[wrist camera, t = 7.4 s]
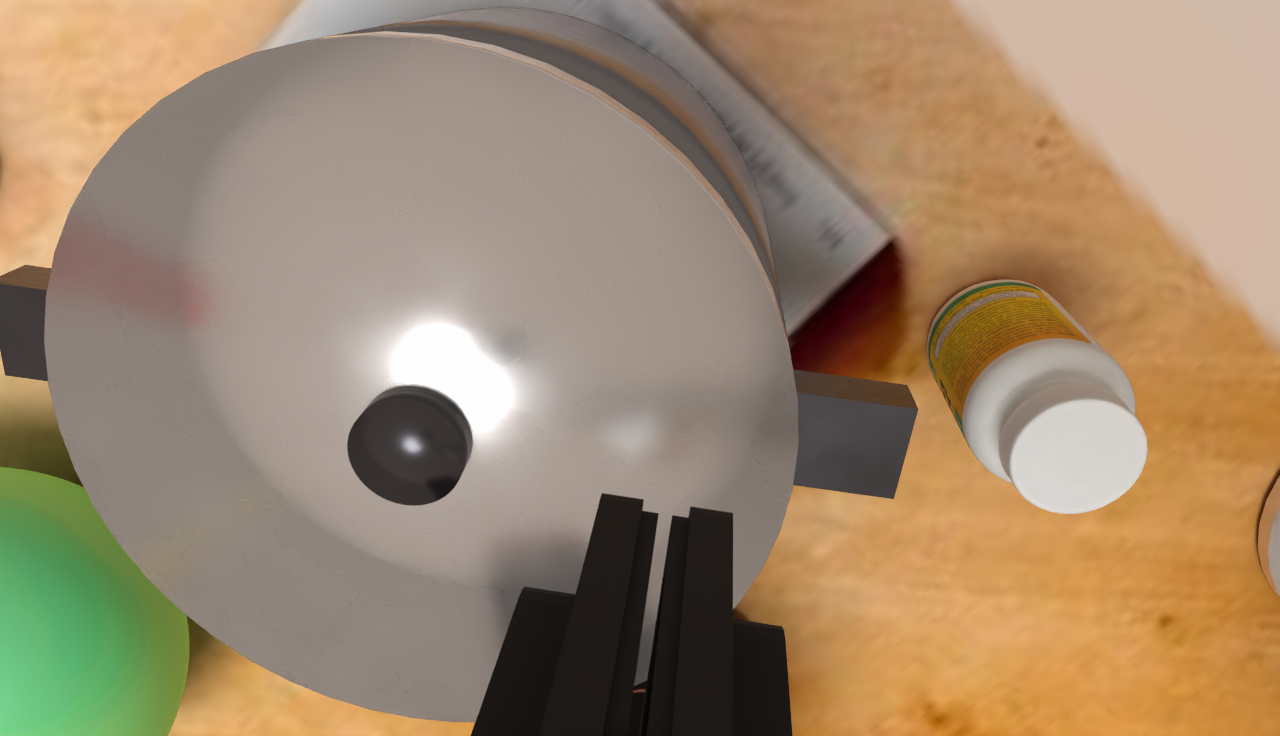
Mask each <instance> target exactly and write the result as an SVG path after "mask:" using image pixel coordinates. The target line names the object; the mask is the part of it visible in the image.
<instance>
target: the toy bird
mask: <svg viewBox="0 0 1280 736" xmlns="http://www.w3.org/2000/svg"><path fill="white" fill-rule="evenodd" d="M189 651H190V641H189V627H188V619H187V615H186V614H184V613H183V612H182V611H181V610H180V609H179V608H178V607H177V606H176V605H174V604H173V603H172V602H171V601H170V600H169V599H168V598H167V597H166V596H165V595H164V594H163V593H162V592H161V591H160V590H159V589H158V588H157V587H156V586H155V585H154V584H153V583H152V582H151V581H150V580H149V579H148V578H147V577H146V576H145V575H144V573H143V572H142V571H141V570H140V569H139V568H138V566H137V565H136V564H135V563H134V562H133V560H132V559H131V558H130V557H129V556H128V555H127V553H126V552H125V551H124V550H123V549H122V547H121V546H120V545H119V543H118V542H117V540H116V539H115V537H114V536H113V534H112V533H111V532H110V530H109V529H108V527H107V526H106V524H105V523H104V521H103V520H102V518H101V517H100V515H99V514H98V512H97V511H96V509H95V507H94V506H93V504H92V502H91V500H90V498H89V496H88V494H87V492H86V490H85V488H84V487H82V486H80V485H77V484H75V483H72V482H70V481H67V480H64V479H61V478H58V477H55V476H51V475H48V474H44V473H39V472H35V471H29V470H24V469H17V468H8V467H0V736H168V734H169V732H170V729H171V727H172V725H173V723H174V720H175V718H176V715H177V712H178V709H179V706H180V703H181V700H182V697H183V693H184V689H185V684H186V679H187V674H188V666H189Z"/></svg>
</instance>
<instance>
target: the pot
mask: <svg viewBox="0 0 1280 736" xmlns="http://www.w3.org/2000/svg"><path fill="white" fill-rule="evenodd" d="M382 31H390V32H408V33H425V34H441V35H446V36H451V37H456V38H461V39H466V40H471V41H476V42H481V43H486V44H491V45H496V46H499V47H501V48H504V49H507V50H510V51H513V52H516V53H519V54H522V55H525V56H528V57H531V58H533V59H536V60H539V61H542V62H545V63H548V64H550V65H552V66H554V67H556V68H558V69H560V70H562V71H564V72H566V73H568V74H570V75H572V76H574V77H576V78H578V79H580V80H582V81H584V82H586V83H588V84H590V85H592V86H594V87H596V88H598V89H600V90H602V91H603V92H604V93H606V94H607V95H609V96H610V97H612V98H613V99H615V100H616V101H618V102H619V103H621V104H622V105H624V106H625V107H627V108H628V109H630V110H631V111H633V112H634V113H636V114H637V115H639V116H640V117H642V118H643V119H644V120H646V121H647V122H648V123H649V124H650V125H652V126H653V127H654V128H655V129H656V130H657V131H658V132H659V133H661V134H662V135H663V136H664V137H665V138H666V139H667V140H668V141H670V142H671V143H672V144H673V145H674V146H675V147H676V148H678V149H679V150H680V151H681V152H682V153H683V154H684V155H685V156H687V157H688V159H689V160H690V161H691V162H692V163H693V164H694V166H695V167H696V168H697V169H698V170H699V171H700V172H701V174H702V175H703V176H704V177H705V178H706V179H707V181H708V182H709V183H710V184H711V185H712V186H713V187H714V189H715V190H716V191H717V192H718V193H719V194H720V196H721V197H722V198H723V200H724V201H725V203H726V204H727V206H728V207H729V209H730V210H731V212H732V213H733V215H734V216H735V218H736V219H737V221H738V222H739V224H740V225H741V227H742V228H743V230H744V232H745V233H746V235H747V236H748V238H749V239H750V241H751V243H752V245H753V247H754V249H755V251H756V253H757V255H758V257H759V260H760V262H761V264H762V266H763V268H764V270H765V272H766V274H767V276H768V278H769V281H770V283H771V285H772V288H773V291H774V294H775V297H776V300H777V304H778V307H779V310H780V313H781V316H782V319H783V323H784V326H785V322H784V317H783V311H782V306H781V301H780V295H779V290H778V285H777V279H776V274H775V268H774V263H773V258H772V252H771V247H770V242H769V236H768V231H767V226H766V220H765V215H764V211H763V207H762V204H761V201H760V198H759V194H758V191H757V188H756V185H755V181H754V179H753V177H752V175H751V172H750V170H749V168H748V166H747V164H746V162H745V159H744V157H743V155H742V153H741V151H740V149H739V147H738V146H737V144H736V142H735V141H734V139H733V138H732V136H731V135H730V133H729V131H728V130H727V128H726V127H725V125H724V124H723V122H722V120H721V119H720V118H719V116H718V115H717V114H716V113H715V112H714V111H713V109H712V108H711V107H710V106H709V105H708V103H707V102H706V101H705V100H704V99H703V98H702V96H701V95H700V94H699V93H698V92H697V91H696V90H695V89H694V88H693V87H692V86H691V85H690V84H689V83H688V82H687V81H685V80H684V79H683V78H682V77H681V76H680V75H679V74H678V73H677V72H675V71H674V70H673V69H672V68H671V67H670V66H669V65H667V64H666V63H664V62H663V61H661V60H660V59H658V58H657V57H656V56H654V55H653V54H651V53H650V52H648V51H647V50H645V49H644V48H642V47H641V46H640V45H638V44H636V43H634V42H632V41H630V40H628V39H626V38H624V37H622V36H620V35H618V34H616V33H614V32H612V31H610V30H608V29H606V28H603V27H600V26H597V25H594V24H592V23H589V22H586V21H583V20H580V19H577V18H574V17H571V16H566V15H561V14H556V13H551V12H546V11H541V10H536V9H521V8H503V7H496V8H484V9H473V10H462V11H457V12H452V13H447V14H442V15H436V16H431V17H426V18H421V19H416V20H411V21H405V22H400V23H395V24H390V25H385V26H379V27H374V28H369V29H364V30H359V31H354V32H348V33H343V34H338V35H346V34H358V33H370V32H382ZM333 36H335V35H333ZM50 273H51V268H43V267H36V266H29V265H24V266H22V267H20V268H18V269H15V270H13V271H11V272H8V273H6V274H4V275H2V276H0V351H1V356H2V361H3V366H4V371H5V375H8V376H15V377H22V378H29V379H36V380H43V381H48V374H47V365H46V355H45V345H44V331H45V307H46V294H47V288H48V283H49V278H50ZM785 329H786V327H785ZM793 373H794V379H795V385H796V391H797V397H798V453H797V460H796V467H795V474H794V482H793V485H798V486H805V487H812V488H819V489H826V490H834V491H841V492H848V493H855V494H862V495H869V496H877V497H884V498H891V499H894V496H895V492H896V488H897V485H898V481H899V477H900V474H901V470H902V466H903V463H904V459H905V455H906V452H907V448H908V444H909V441H910V437H911V433H912V430H913V426H914V422H915V419H916V415H917V411H918V408H917V406H916V404H915V401H914V399H913V397H912V395H911V392H910V390H909V388H908V386H907V385H902V384H895V383H888V382H880V381H873V380H866V379H858V378H851V377H844V376H836V375H829V374H822V373H814V372H807V371H800V370H793Z"/></svg>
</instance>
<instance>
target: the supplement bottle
mask: <svg viewBox="0 0 1280 736" xmlns="http://www.w3.org/2000/svg"><path fill="white" fill-rule="evenodd" d="M927 357H928V363H929V366H930V369H931V372H932V374H933V376H934V378H935V380H936V383H937V384H938V386H939V388H940V390H941V392H942V394H943V396H944V398H945V400H946V402H947V403H948V406H949V408H950V410H951V411H952V413H953V416H954V418H955V420H956V422H957V424H958V426H959V427H960V430H961V432H962V434H963V436H964V438H965V440H966V442H967V444H968V446H969V447H970V449H971V451H972V452H973V454H974V455H975V457H976V458H977V459H978V460H979V462H980V463H981V464H982V465H983V466H984V467H985V468H986V469H988V470H989V471H990V472H991V473H993V474H994V475H996V476H997V477H999V478H1001V479H1003V480H1005V481H1007V482H1010V483H1013V485H1014V486H1015V488H1016V489H1017V490H1018V492H1019V493H1020V494H1021V495H1022V496H1023V497H1024V498H1025V499H1026V500H1028V501H1029V502H1030V503H1032V504H1033V505H1035V506H1037V507H1039V508H1041V509H1044V510H1047V511H1050V512H1054V513H1063V514H1077V513H1084V512H1089V511H1092V510H1095V509H1099V508H1101V507H1103V506H1105V505H1108V504H1109V503H1111V502H1113V501H1115V500H1116V499H1118V498H1119V497H1120V496H1122V495H1123V494H1124V493H1125V492H1126V491H1128V490H1129V489H1130V488H1131V487H1132V485H1133V484H1134V483H1135V481H1136V480H1137V479H1138V477H1139V476H1140V474H1141V472H1142V470H1143V467H1144V465H1145V462H1146V458H1147V449H1148V447H1147V438H1146V434H1145V431H1144V429H1143V427H1142V425H1141V424H1140V422H1139V421H1138V419H1137V418H1136V416H1135V398H1134V393H1133V389H1132V386H1131V383H1130V381H1129V379H1128V377H1127V375H1126V374H1125V372H1124V371H1123V369H1122V368H1121V367H1120V365H1119V364H1118V363H1117V362H1116V361H1115V360H1114V359H1113V358H1112V357H1111V356H1110V354H1109V353H1108V352H1107V351H1106V350H1105V349H1104V348H1103V347H1102V346H1101V345H1100V344H1099V343H1097V341H1096V340H1095V339H1094V338H1093V337H1092V336H1091V335H1090V334H1089V333H1088V332H1087V331H1086V330H1085V329H1084V328H1083V327H1082V326H1081V325H1080V324H1079V323H1078V322H1077V321H1076V320H1075V319H1074V318H1073V317H1072V316H1071V315H1070V314H1069V313H1068V312H1067V311H1066V310H1065V309H1064V308H1063V307H1062V305H1061V304H1060V303H1059V302H1057V301H1056V300H1055V299H1054V298H1053V297H1052V296H1051V295H1049V294H1048V293H1047V292H1046V291H1044V290H1043V289H1041V288H1039V287H1037V286H1035V285H1033V284H1030V283H1028V282H1024V281H1020V280H1005V279H1003V280H992V281H986V282H982V283H978V284H975V285H973V286H970V287H968V288H966V289H964V290H963V291H961V292H959V293H958V294H956V295H955V296H954V297H952V298H951V299H950V300H949V301H948V302H947V303H946V304H945V305H944V306H943V307H942V308H941V310H940V311H939V312H938V314H937V315H936V317H935V318H934V320H933V322H932V324H931V327H930V331H929V334H928V340H927Z"/></svg>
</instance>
